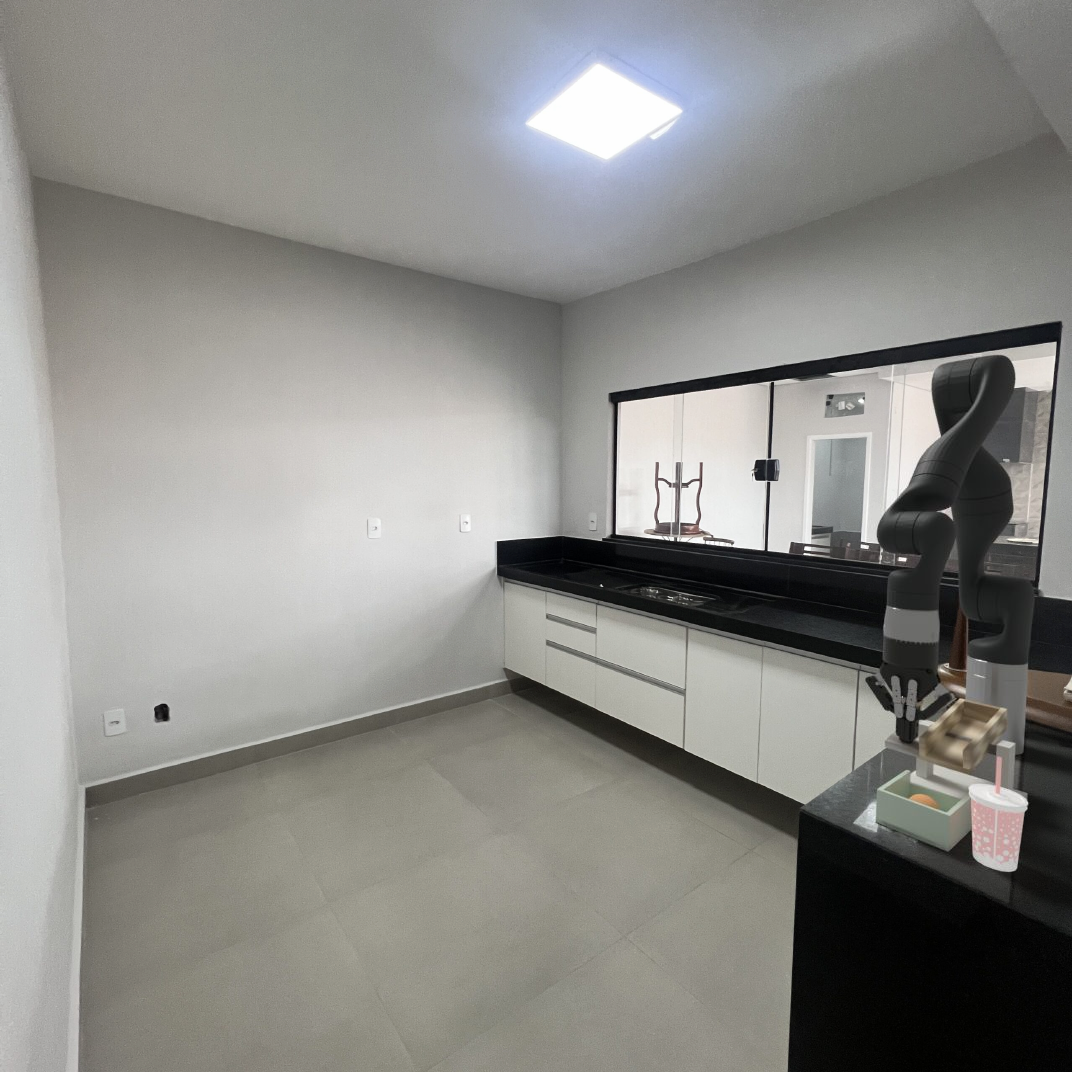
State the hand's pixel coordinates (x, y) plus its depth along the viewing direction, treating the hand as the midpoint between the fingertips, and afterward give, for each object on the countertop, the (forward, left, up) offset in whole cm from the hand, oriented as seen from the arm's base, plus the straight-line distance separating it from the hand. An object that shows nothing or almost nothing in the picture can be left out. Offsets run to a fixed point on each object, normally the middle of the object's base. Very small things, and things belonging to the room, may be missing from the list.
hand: (906, 740), depth 95 cm
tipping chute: (-8, +4, -2) cm, 9 cm away
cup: (+8, +6, -9) cm, 13 cm away
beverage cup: (+11, +15, -9) cm, 20 cm away
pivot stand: (-7, +6, -9) cm, 13 cm away
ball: (+9, +6, -6) cm, 12 cm away
